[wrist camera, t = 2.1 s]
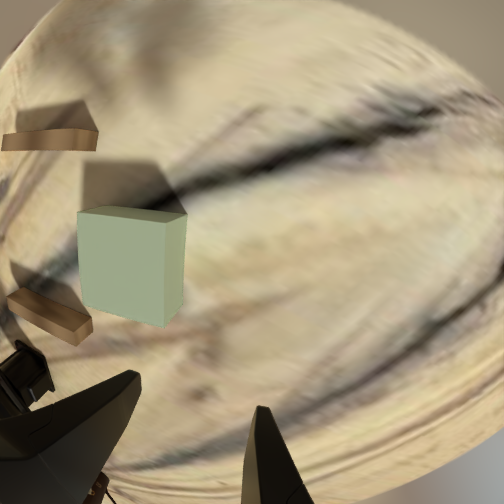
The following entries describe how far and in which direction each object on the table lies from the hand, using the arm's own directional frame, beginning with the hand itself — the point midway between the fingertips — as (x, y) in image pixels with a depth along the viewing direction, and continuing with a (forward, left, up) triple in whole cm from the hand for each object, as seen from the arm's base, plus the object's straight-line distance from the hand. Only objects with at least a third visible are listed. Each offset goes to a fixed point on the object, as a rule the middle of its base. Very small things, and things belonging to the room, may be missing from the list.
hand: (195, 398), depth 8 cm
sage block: (-8, 0, -12) cm, 15 cm away
